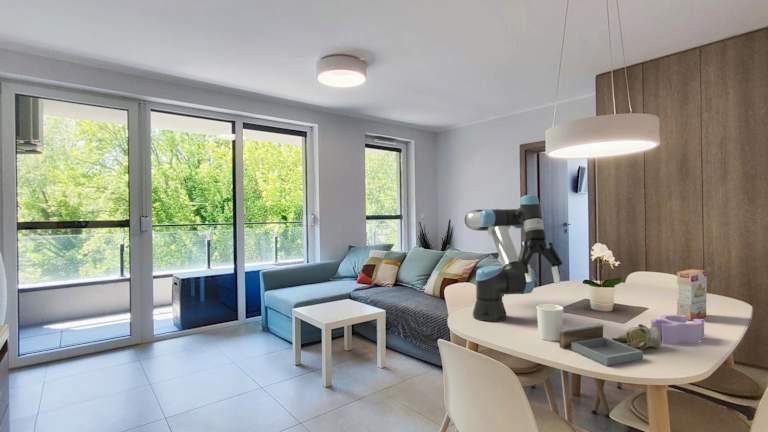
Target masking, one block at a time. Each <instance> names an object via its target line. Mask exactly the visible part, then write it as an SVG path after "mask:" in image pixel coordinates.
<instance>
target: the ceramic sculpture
mask: <svg viewBox="0 0 768 432" xmlns="http://www.w3.org/2000/svg"><path fill="white" fill-rule="evenodd" d="M611 340H614V341H616V342H619V343H622V344H624V345H626V344H628V345H629V346H630V347H633V348H635V349H638V350H641V351H642V350H644V349H646V348H648V347H650V348H653V349H654V348H655V349H658V348H660V347H661V345H662V338H661V337H660V328H659V327H653V328H651V327H650V328H648V326H646V325H643V324H638V325H637V327H636V326H635V327H630V328H629V329H627V331H626V334H622V335H619V336H618V337H616V338H614V337H613V338H612V337H611Z"/></svg>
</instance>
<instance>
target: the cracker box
mask: <svg viewBox="0 0 768 432" xmlns="http://www.w3.org/2000/svg"><path fill="white" fill-rule="evenodd" d="M707 271H708V270H703V269H696V268H695V269H693V268H691V269H686V270H680V271H677V273H676V275H677V277H676V278H677V279H676V285H677V288H676V289H677V290H676V292H677V293H676V294H677V295H676V296H677V297H676V315H679V316H681V315H685V316H686V321H694V319H702V318H704V316H705V317H707V290H708V289H707V285H708V284H707V275H708V274H707Z"/></svg>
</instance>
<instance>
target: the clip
mask: <svg viewBox="0 0 768 432" xmlns="http://www.w3.org/2000/svg"><path fill="white" fill-rule="evenodd" d="M653 327H659V328H660V337H661V344H667V345H676V344H679V343H689V342H696V343H700V342H699V341H701V342H702V341H703V338H702V337H704V338H705V320H704V319H703V318H698V319H694V320H693V322H691V323H690V322H687V320H686V316H685V315H681V316H679V315H677V314H664V315H661V316H660V318H653V319H651V320H650V328H653Z"/></svg>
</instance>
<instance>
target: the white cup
mask: <svg viewBox="0 0 768 432" xmlns="http://www.w3.org/2000/svg"><path fill="white" fill-rule="evenodd" d="M535 308H536V319H537V332H538V334H537V335H538V337H539V339H541V340H544V341H547V342H560V339H559V329H561V328H563V326H564V325H563V324H564V307H563V306H562V305H558V304H553V303H552V304H550V303H541V304H537V305H536V307H535Z"/></svg>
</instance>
